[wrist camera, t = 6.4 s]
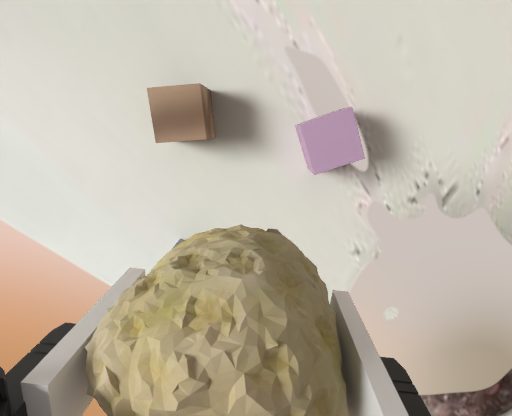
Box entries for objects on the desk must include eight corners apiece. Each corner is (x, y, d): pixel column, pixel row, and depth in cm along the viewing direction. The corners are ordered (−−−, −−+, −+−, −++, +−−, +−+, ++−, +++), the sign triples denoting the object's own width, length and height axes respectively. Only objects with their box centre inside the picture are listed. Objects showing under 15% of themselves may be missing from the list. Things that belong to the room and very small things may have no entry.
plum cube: (294, 125, 32) (300, 125, 27) (338, 109, 31) (352, 106, 26) (307, 167, 33) (314, 174, 28) (350, 153, 32) (364, 158, 27)
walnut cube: (165, 93, 31) (146, 87, 26) (210, 90, 31) (200, 83, 26) (172, 140, 32) (155, 142, 28) (215, 137, 32) (206, 139, 27)
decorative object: (318, 296, 19) (458, 316, 9) (224, 451, 15) (297, 725, 6) (210, 207, 18) (244, 134, 9) (87, 348, 15) (-68, 471, 5)
